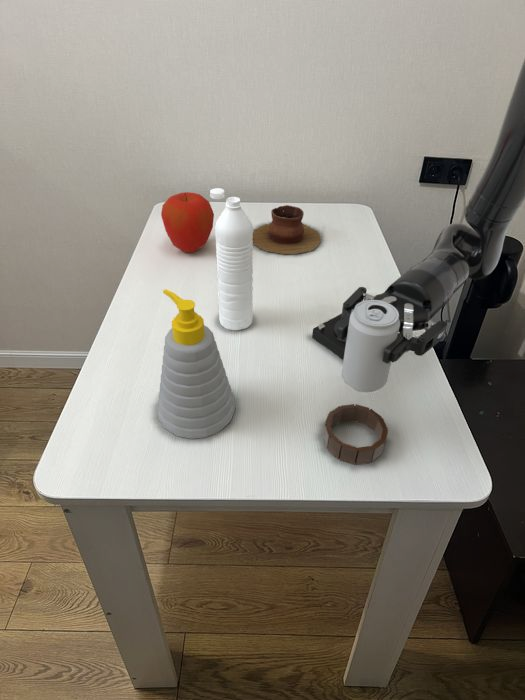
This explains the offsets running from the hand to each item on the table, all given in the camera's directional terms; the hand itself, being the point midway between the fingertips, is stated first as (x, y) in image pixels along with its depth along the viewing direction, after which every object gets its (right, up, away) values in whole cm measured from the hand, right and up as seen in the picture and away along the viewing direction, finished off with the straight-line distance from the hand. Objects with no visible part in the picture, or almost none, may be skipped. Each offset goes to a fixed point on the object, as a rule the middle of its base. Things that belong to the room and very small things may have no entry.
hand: (362, 345), depth 63 cm
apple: (-30, +24, +55) cm, 67 cm away
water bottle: (-19, +6, +34) cm, 39 cm away
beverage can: (+1, -5, +7) cm, 8 cm away
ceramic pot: (-7, +28, +60) cm, 66 cm away
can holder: (+1, -14, +11) cm, 18 cm away
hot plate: (+5, +1, +29) cm, 29 cm away
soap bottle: (-23, -10, +15) cm, 30 cm away
